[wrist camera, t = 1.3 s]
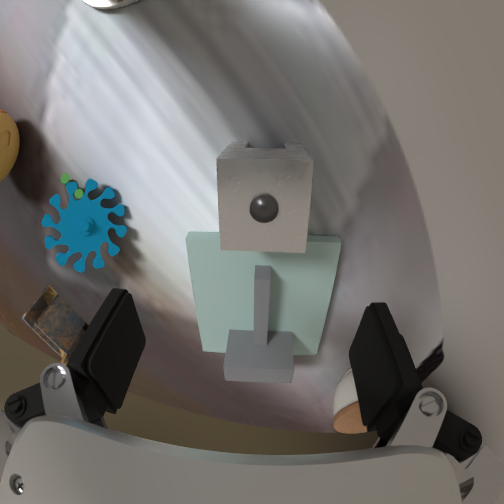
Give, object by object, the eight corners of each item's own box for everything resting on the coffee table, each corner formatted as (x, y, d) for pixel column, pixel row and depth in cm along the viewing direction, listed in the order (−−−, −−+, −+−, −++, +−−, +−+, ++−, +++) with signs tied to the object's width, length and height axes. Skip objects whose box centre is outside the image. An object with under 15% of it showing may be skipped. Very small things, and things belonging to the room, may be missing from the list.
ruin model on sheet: (97, 329, 40) (73, 372, 32) (89, 333, 41) (66, 375, 33) (50, 281, 36) (18, 320, 27) (45, 288, 37) (15, 326, 28)
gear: (140, 251, 29) (62, 288, 24) (128, 244, 34) (62, 275, 28) (111, 155, 25) (26, 189, 20) (103, 163, 30) (32, 192, 24)
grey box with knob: (231, 141, 24) (215, 159, 17) (300, 143, 24) (314, 162, 17) (232, 210, 28) (220, 252, 21) (296, 212, 28) (305, 255, 21)
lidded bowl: (324, 361, 40) (332, 423, 30) (400, 343, 37) (420, 400, 28) (330, 397, 46) (335, 448, 36) (392, 382, 43) (406, 430, 34)
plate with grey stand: (189, 231, 29) (168, 271, 23) (338, 236, 29) (356, 277, 22) (205, 343, 39) (195, 385, 32) (315, 347, 38) (320, 390, 32)
